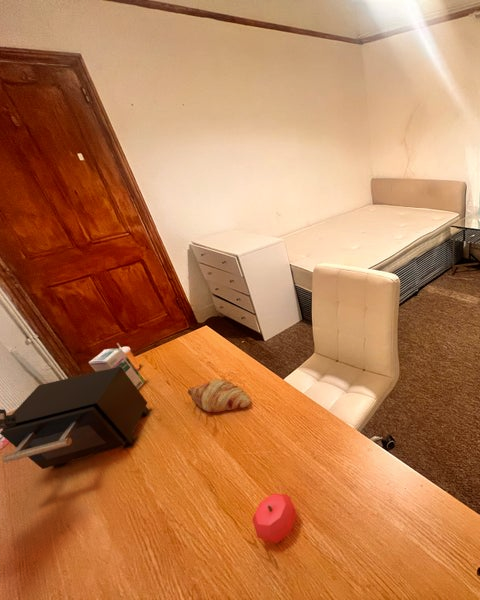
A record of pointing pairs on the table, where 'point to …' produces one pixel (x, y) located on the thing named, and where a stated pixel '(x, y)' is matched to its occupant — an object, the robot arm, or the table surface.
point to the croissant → (219, 396)
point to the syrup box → (117, 364)
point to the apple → (274, 518)
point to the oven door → (62, 438)
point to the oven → (89, 401)
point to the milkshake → (129, 355)
